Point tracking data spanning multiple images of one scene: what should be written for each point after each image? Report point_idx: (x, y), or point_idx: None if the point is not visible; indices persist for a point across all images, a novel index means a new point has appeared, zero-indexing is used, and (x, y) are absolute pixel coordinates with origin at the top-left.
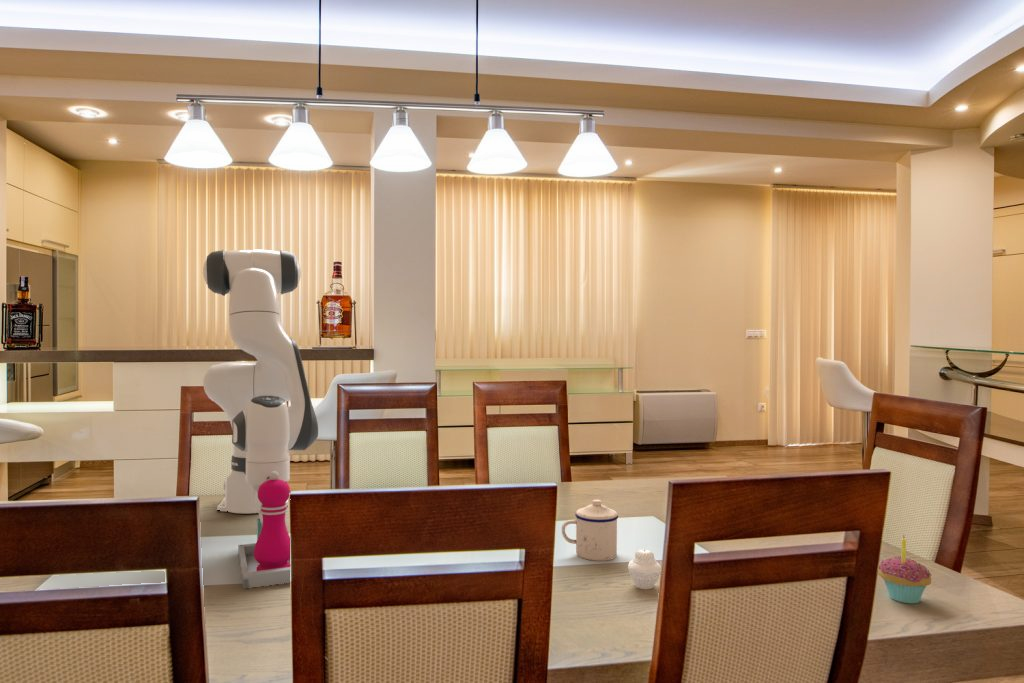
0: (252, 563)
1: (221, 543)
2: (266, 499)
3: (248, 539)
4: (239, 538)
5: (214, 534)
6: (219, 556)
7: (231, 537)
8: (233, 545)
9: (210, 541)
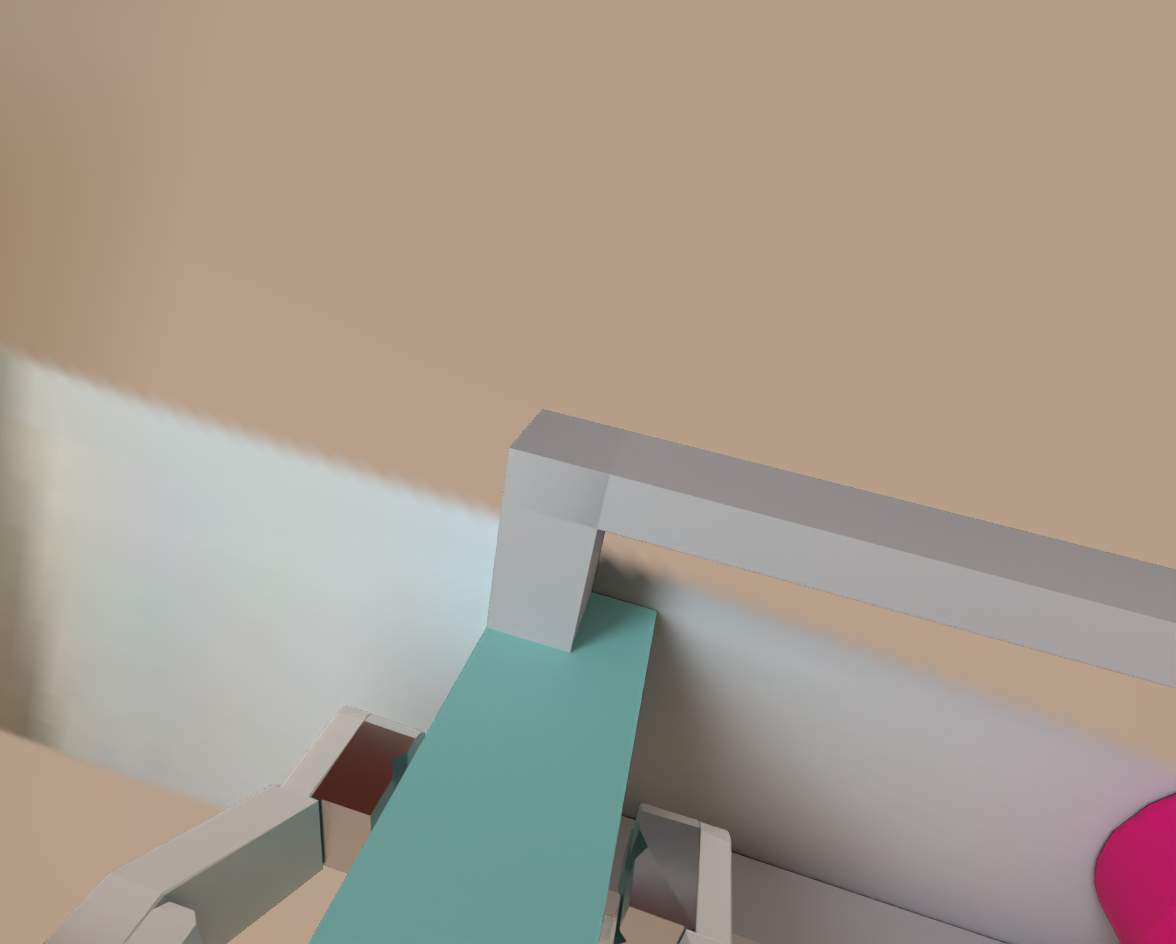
0: (795, 833)
1: (210, 763)
2: None
3: (154, 621)
4: (118, 653)
5: (10, 716)
6: None
7: (86, 678)
8: (276, 738)
9: (153, 782)
